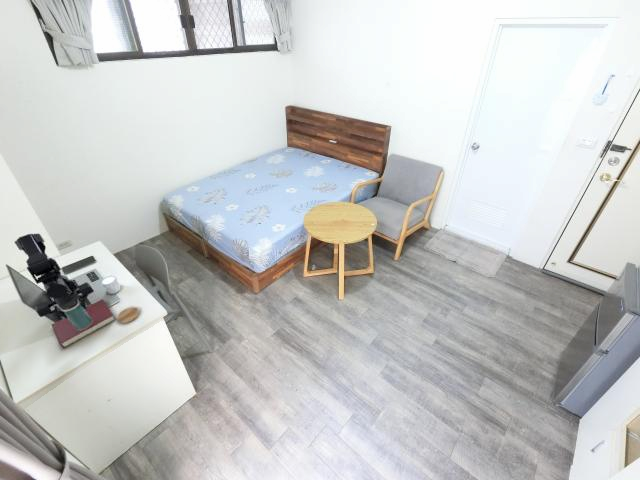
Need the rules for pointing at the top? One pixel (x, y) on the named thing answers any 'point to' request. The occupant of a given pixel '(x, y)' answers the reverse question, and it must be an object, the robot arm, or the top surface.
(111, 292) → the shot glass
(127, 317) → the coaster
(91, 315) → the book
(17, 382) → the top surface
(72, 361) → the top surface
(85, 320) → the pencil cup
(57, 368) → the top surface
